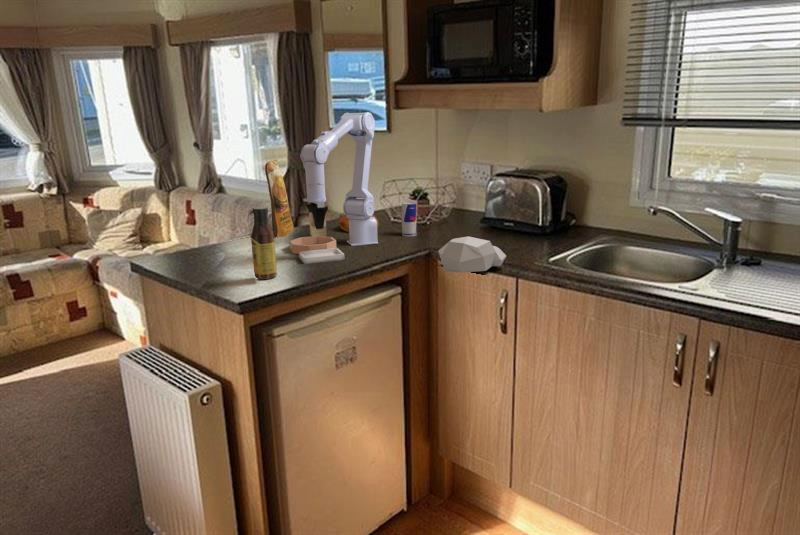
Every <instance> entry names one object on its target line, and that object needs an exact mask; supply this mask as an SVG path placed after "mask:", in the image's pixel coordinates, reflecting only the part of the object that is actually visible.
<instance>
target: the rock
mask: <svg viewBox="0 0 800 535" xmlns="http://www.w3.org/2000/svg"><path fill="white" fill-rule="evenodd" d="M437 253H438V254H439V257H440V260H441V263H442V266H443V267H442V268H443V272H451V273H460V274H462V273H474V272H486V271H488V270H489V269H490V268H492V267H501V266H502V265H503V263H504V261H505V259H506V258H507V255H506V253H504V252H503V251H502V250H501V249H500V248H499V247H498V246H495V245H493V244H492V242H491V240H487V239H482V238H477V237H472V236H464V237H463V236H462V237H456V238H452V239H451V240H449V241H448V242H447V243H446V244H444V245H443V246H442V247H441V248H440V249H439V250H438V251H437Z"/></svg>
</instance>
